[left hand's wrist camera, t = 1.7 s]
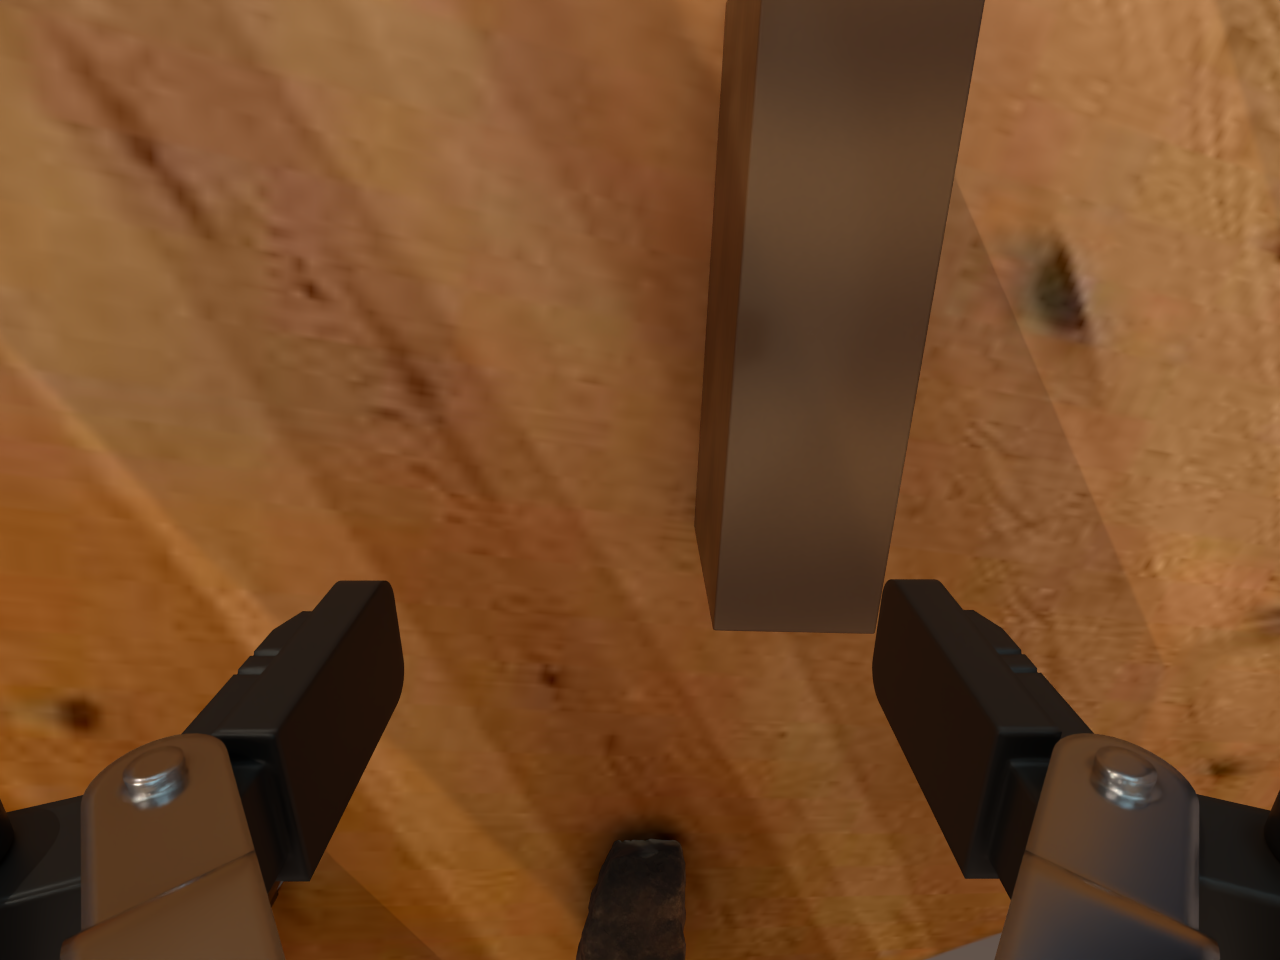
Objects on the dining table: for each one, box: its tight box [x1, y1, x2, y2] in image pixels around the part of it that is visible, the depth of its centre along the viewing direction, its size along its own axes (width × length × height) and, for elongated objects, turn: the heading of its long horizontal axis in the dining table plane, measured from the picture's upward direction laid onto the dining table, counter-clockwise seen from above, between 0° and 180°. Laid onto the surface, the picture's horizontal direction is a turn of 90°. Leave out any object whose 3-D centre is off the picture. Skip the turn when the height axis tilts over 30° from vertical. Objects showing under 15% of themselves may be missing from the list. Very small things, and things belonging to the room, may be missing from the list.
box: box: [694, 0, 985, 634], centre depth 25 cm, size 22×6×9 cm, turn 179°
